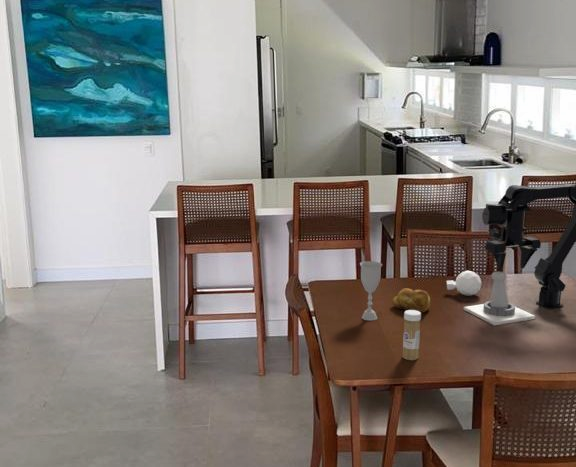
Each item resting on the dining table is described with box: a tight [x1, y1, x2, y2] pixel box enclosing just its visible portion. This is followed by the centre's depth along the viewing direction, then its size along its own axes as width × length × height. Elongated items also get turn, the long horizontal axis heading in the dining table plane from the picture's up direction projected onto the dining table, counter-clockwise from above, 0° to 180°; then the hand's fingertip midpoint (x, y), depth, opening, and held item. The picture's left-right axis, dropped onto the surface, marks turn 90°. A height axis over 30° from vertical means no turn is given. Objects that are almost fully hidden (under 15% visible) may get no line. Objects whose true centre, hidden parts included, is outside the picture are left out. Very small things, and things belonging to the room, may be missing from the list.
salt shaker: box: [489, 271, 509, 309], centre depth 235 cm, size 6×6×13 cm
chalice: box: [359, 260, 383, 321], centre depth 231 cm, size 7×7×18 cm
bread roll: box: [392, 287, 431, 314], centre depth 241 cm, size 13×10×8 cm
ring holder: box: [463, 300, 536, 326], centre depth 236 cm, size 16×16×3 cm
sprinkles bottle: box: [402, 310, 422, 361], centre depth 200 cm, size 5×5×13 cm
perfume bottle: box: [446, 270, 482, 297], centre depth 256 cm, size 9×9×12 cm
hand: (511, 269), depth 241 cm, fingers open, 9 cm apart
